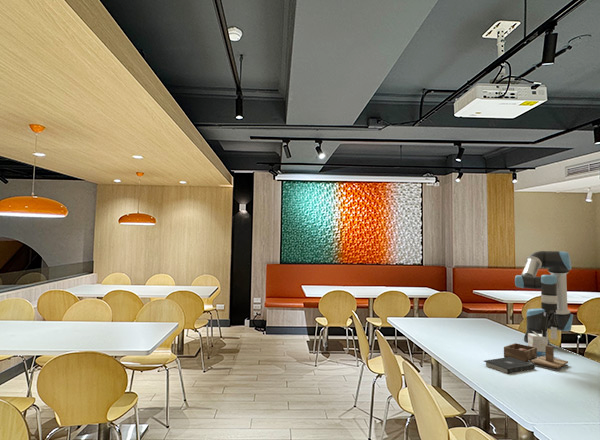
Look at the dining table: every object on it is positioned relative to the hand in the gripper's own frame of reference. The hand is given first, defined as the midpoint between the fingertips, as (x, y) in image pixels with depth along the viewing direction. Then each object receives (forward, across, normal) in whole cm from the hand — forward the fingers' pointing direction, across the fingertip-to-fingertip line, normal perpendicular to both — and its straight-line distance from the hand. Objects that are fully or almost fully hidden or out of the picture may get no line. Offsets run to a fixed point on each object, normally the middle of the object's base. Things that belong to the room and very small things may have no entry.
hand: (549, 340), depth 214 cm
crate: (+14, -1, -16) cm, 21 cm away
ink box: (+14, -19, -13) cm, 27 cm away
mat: (+13, +1, 0) cm, 13 cm away
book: (+14, +24, -12) cm, 30 cm away
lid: (+13, +1, 0) cm, 13 cm away
